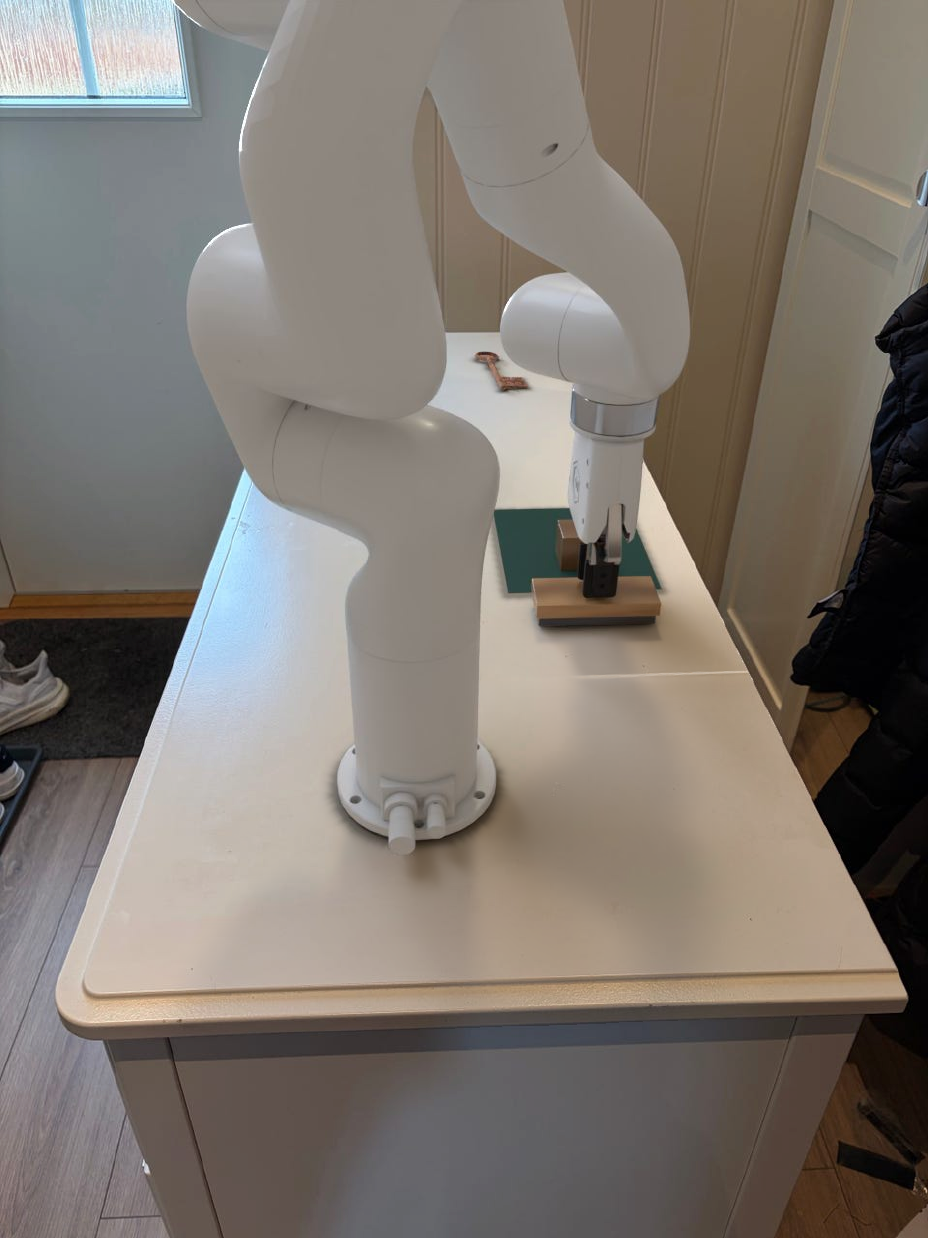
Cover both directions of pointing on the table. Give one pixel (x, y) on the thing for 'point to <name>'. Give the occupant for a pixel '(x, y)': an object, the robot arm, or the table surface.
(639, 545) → the mat
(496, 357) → the key
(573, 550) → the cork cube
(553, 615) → the brush
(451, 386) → the table surface
